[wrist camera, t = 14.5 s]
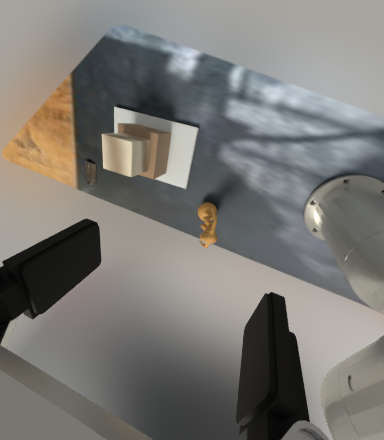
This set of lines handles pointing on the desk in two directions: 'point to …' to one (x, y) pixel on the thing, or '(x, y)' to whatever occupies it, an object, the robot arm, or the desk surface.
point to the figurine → (208, 223)
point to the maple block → (125, 153)
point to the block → (90, 172)
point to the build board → (177, 143)
